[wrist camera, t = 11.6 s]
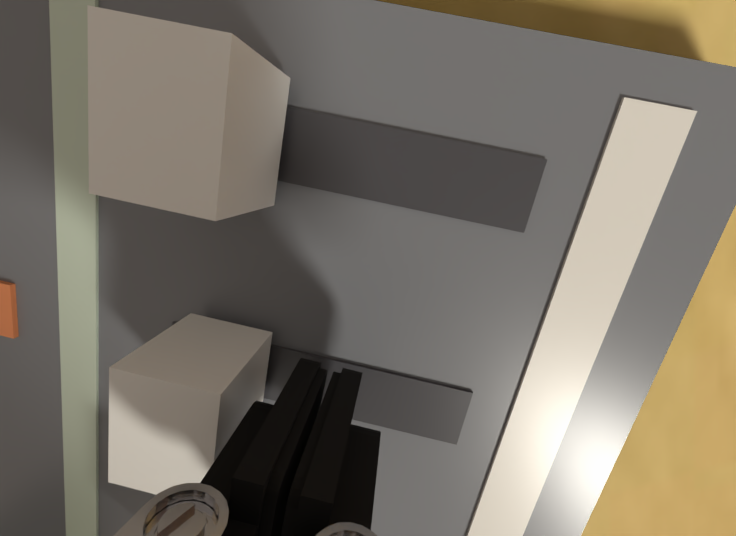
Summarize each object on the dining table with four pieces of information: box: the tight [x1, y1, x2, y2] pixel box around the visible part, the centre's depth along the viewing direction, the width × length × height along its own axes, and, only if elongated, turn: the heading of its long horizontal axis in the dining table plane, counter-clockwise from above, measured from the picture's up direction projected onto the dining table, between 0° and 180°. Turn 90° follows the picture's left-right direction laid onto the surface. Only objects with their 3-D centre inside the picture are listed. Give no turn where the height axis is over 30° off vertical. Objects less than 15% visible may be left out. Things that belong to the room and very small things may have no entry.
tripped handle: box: [108, 313, 273, 495], centre depth 9 cm, size 2×3×3 cm
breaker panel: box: [0, 0, 736, 536], centre depth 11 cm, size 22×20×5 cm
